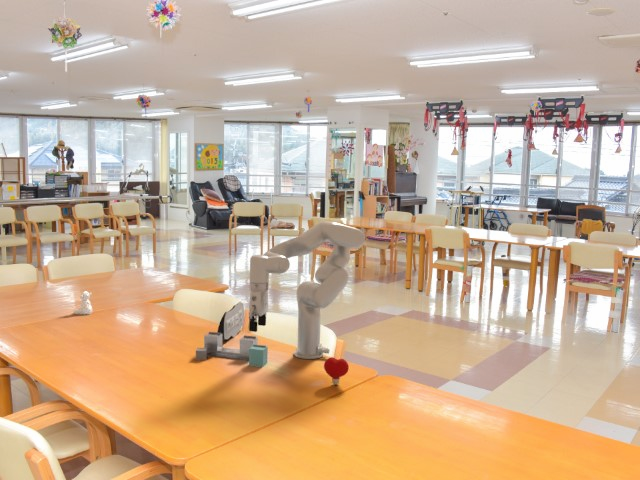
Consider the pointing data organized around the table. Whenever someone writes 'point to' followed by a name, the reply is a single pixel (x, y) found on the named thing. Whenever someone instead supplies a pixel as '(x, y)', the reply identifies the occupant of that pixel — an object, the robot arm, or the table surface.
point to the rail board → (215, 348)
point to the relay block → (201, 354)
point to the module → (258, 355)
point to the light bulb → (336, 369)
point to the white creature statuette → (84, 304)
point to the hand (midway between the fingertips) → (257, 328)
